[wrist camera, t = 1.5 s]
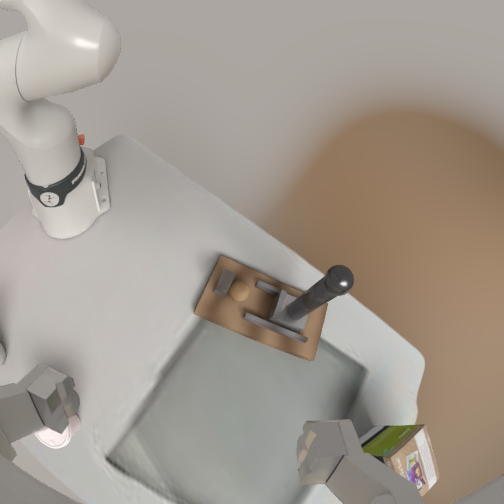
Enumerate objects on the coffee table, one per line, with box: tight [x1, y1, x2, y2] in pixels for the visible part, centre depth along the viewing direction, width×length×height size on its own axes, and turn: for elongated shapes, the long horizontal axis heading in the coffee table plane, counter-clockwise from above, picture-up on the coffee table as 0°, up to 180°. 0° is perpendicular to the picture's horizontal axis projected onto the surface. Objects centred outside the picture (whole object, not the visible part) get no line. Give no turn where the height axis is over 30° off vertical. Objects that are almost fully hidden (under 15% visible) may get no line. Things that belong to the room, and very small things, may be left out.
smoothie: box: [32, 415, 81, 448], centre depth 25 cm, size 6×6×14 cm
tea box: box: [358, 424, 440, 497], centre depth 34 cm, size 15×10×15 cm, turn 22°
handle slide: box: [267, 265, 354, 333], centre depth 41 cm, size 6×5×19 cm
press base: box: [194, 255, 328, 361], centre depth 48 cm, size 23×12×6 cm, turn 71°
